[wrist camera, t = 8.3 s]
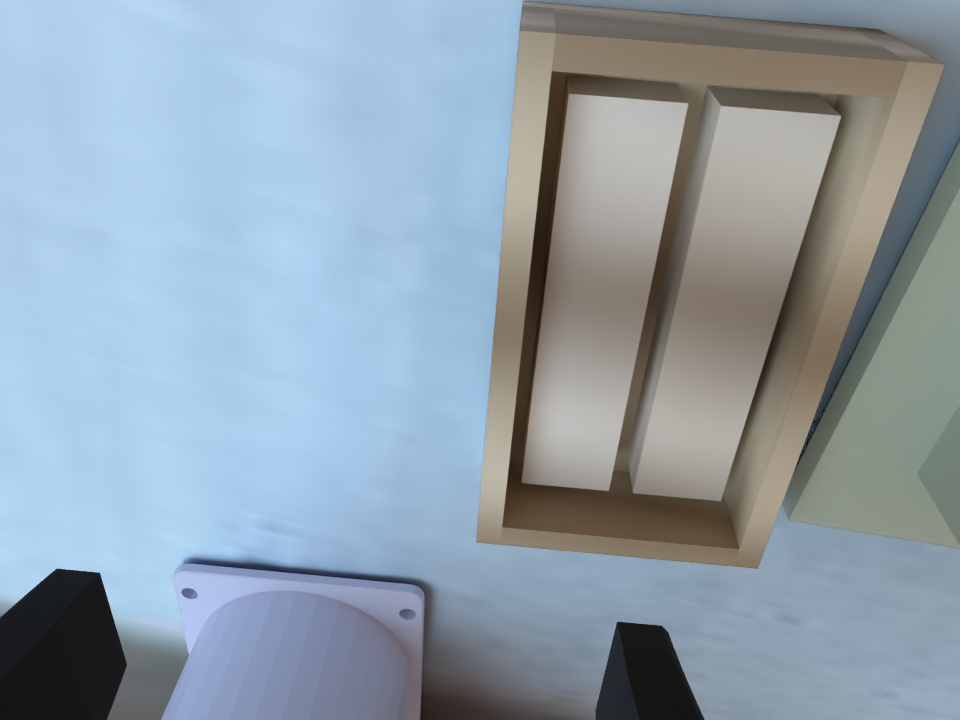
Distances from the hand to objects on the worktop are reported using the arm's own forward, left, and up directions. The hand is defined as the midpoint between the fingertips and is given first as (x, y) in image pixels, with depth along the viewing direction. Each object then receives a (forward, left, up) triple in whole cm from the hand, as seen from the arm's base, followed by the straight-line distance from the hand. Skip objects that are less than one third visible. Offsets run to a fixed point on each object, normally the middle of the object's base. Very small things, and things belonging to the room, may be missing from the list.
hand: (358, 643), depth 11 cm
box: (+1, -5, -10) cm, 11 cm away
